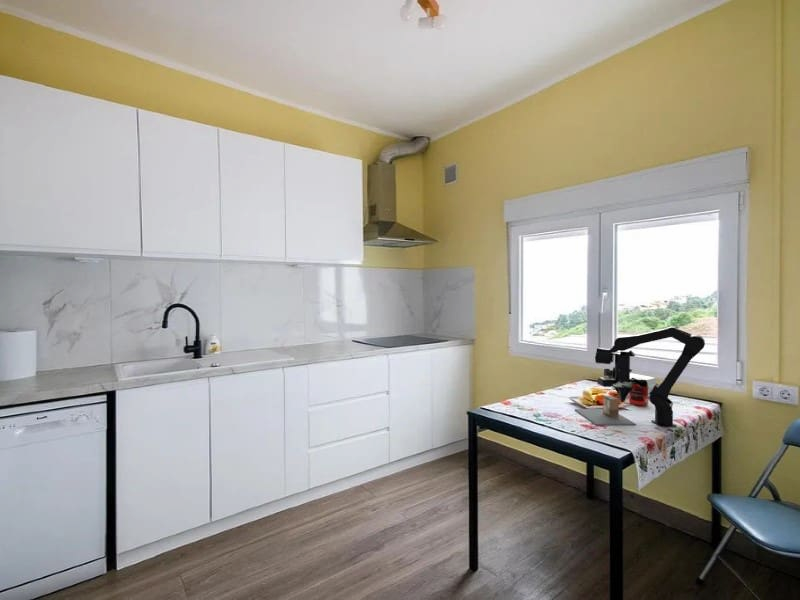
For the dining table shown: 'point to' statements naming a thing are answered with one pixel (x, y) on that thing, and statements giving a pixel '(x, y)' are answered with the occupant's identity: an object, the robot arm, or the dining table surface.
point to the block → (610, 406)
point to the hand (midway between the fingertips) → (621, 401)
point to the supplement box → (650, 380)
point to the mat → (603, 417)
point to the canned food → (638, 395)
